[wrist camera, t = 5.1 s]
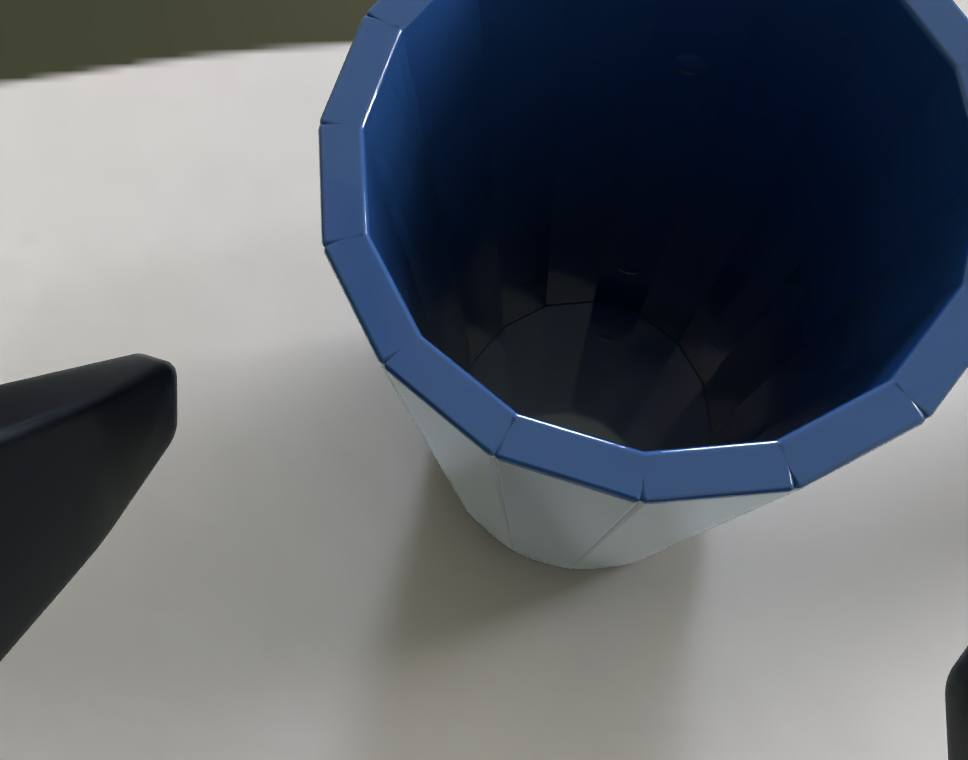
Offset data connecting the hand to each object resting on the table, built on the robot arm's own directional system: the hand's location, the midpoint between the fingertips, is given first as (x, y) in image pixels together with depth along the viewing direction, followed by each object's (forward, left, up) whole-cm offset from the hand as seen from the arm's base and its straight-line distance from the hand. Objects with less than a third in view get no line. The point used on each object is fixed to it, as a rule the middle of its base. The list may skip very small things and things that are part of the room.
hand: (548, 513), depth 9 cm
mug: (+3, +4, -10) cm, 11 cm away
